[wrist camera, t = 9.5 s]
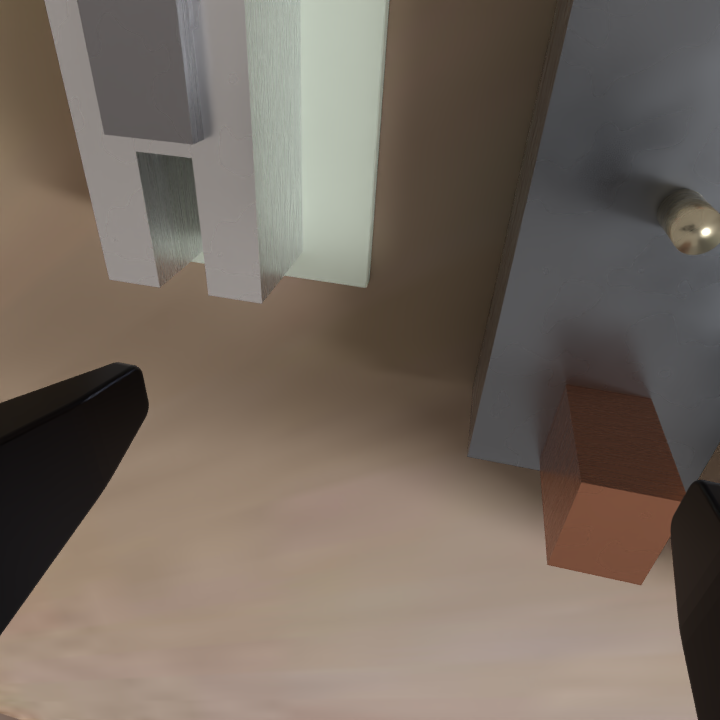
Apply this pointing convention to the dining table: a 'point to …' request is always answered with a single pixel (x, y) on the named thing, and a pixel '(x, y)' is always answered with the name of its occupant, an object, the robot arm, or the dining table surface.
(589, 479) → the hand plane
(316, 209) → the rubber mat
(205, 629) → the dining table surface
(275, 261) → the lever cap
